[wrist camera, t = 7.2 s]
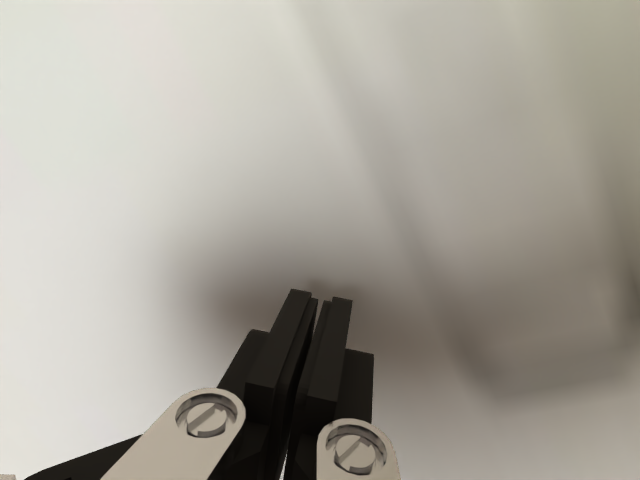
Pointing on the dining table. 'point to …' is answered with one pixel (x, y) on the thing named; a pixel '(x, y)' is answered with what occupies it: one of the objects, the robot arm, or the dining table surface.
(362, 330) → the dining table surface
